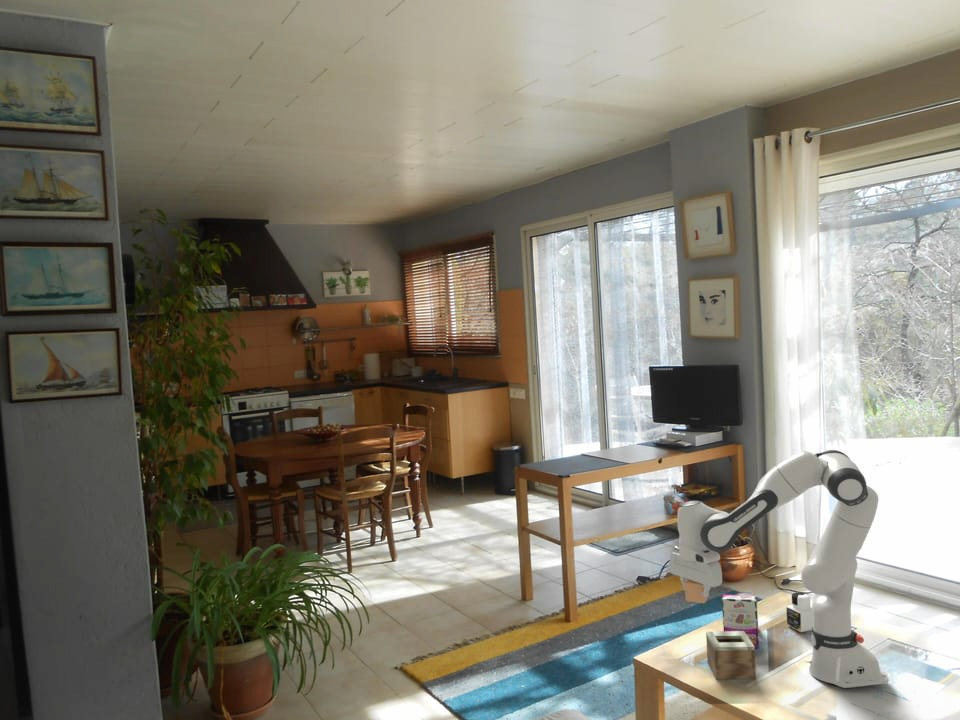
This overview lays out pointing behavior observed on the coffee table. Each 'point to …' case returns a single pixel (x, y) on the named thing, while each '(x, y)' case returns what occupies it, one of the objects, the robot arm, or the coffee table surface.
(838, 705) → the coffee table surface
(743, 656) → the drop box
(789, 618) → the medicine bottle
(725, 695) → the coffee table surface
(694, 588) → the block
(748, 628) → the candy bar box
